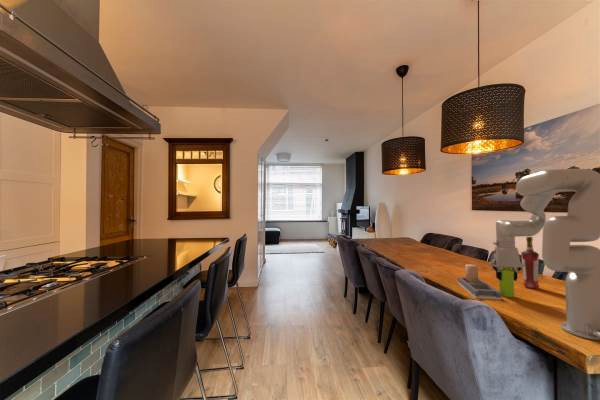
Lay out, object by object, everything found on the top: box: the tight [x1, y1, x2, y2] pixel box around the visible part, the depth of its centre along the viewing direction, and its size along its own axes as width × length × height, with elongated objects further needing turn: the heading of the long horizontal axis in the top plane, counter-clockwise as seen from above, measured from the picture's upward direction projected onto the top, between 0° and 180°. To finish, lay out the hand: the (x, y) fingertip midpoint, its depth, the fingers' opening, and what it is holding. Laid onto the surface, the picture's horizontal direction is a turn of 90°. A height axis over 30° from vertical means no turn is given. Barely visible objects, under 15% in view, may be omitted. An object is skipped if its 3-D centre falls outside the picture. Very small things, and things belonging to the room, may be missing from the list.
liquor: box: [520, 236, 540, 290], centre depth 146 cm, size 7×7×28 cm
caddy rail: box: [457, 263, 502, 301], centre depth 143 cm, size 26×11×12 cm, turn 166°
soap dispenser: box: [498, 267, 515, 298], centre depth 134 cm, size 6×7×20 cm
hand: (506, 279), depth 134 cm, fingers closed on soap dispenser, 6 cm apart
